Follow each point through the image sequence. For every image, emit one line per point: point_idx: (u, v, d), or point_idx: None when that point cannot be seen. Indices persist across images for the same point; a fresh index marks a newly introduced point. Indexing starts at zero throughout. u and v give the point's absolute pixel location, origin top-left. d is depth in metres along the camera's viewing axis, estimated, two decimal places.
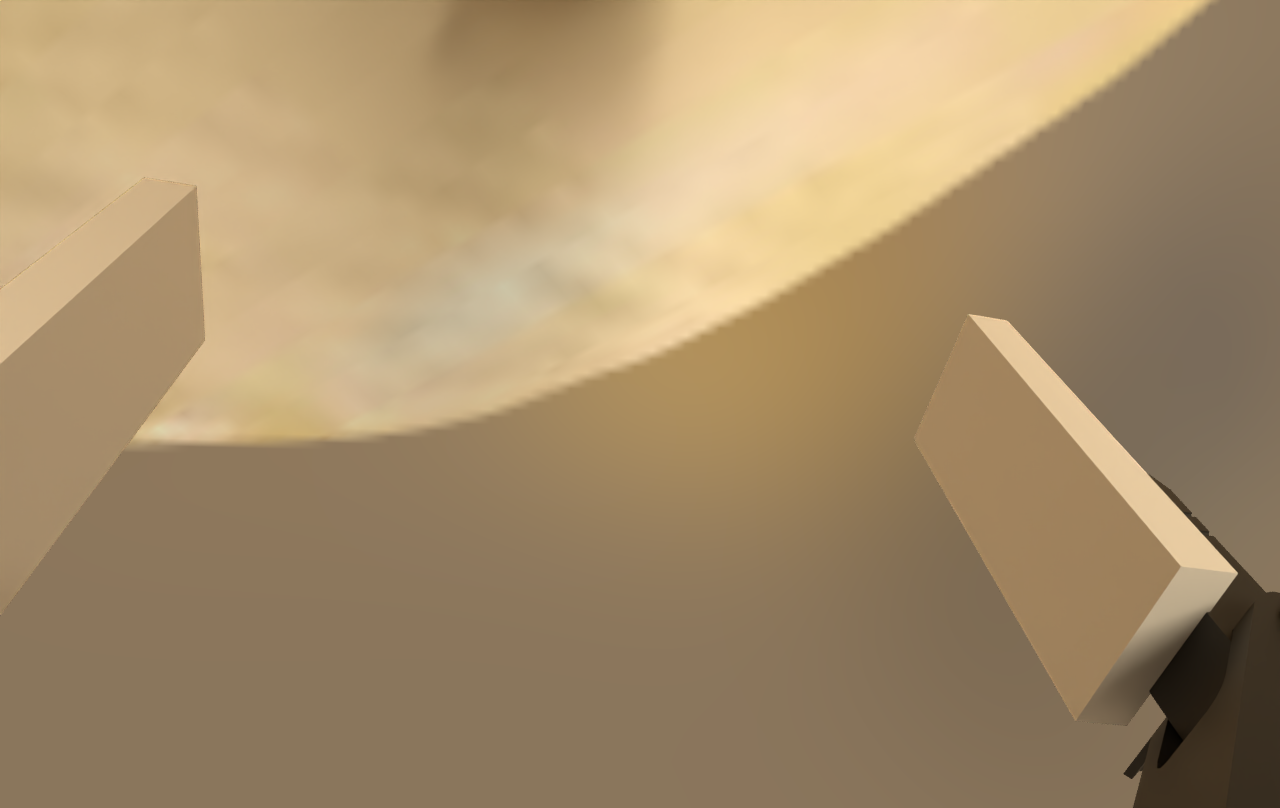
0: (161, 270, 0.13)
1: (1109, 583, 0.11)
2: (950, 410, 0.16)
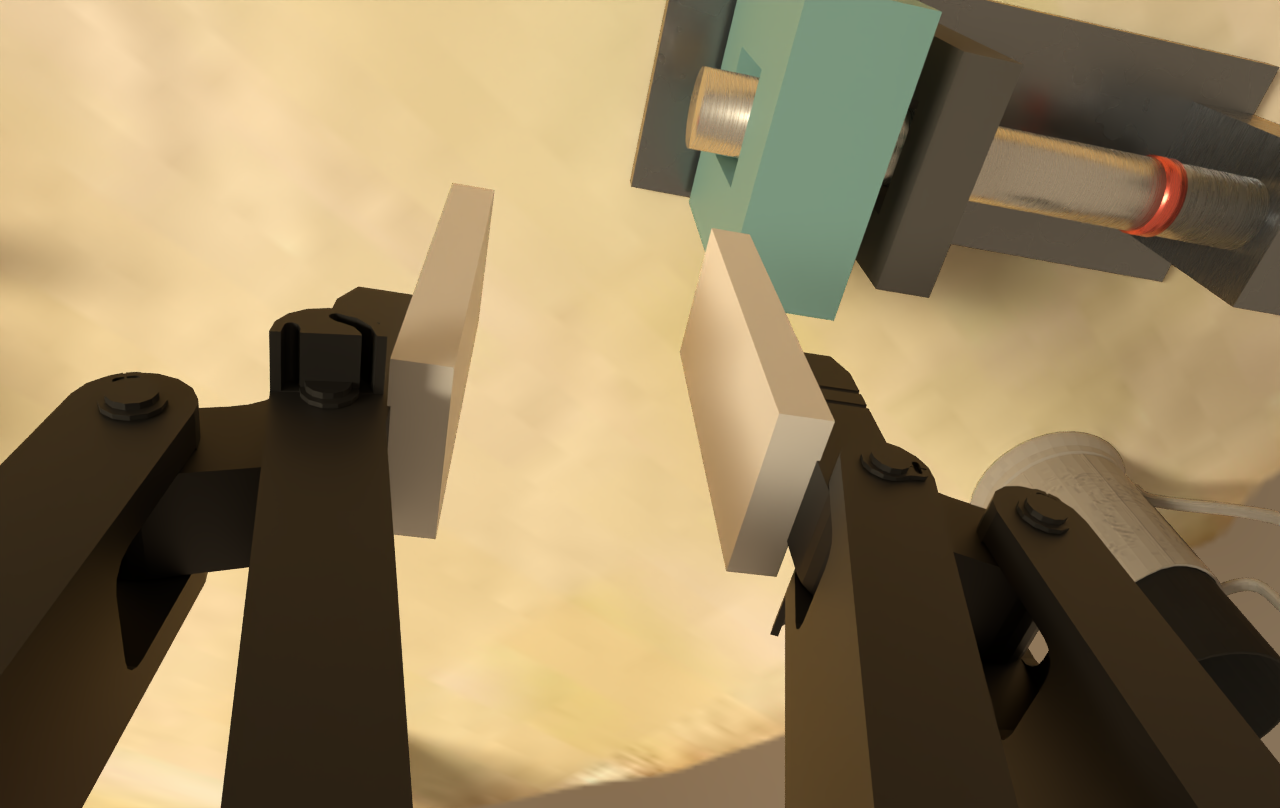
0: (482, 260, 0.15)
1: (749, 442, 0.12)
2: (697, 318, 0.17)
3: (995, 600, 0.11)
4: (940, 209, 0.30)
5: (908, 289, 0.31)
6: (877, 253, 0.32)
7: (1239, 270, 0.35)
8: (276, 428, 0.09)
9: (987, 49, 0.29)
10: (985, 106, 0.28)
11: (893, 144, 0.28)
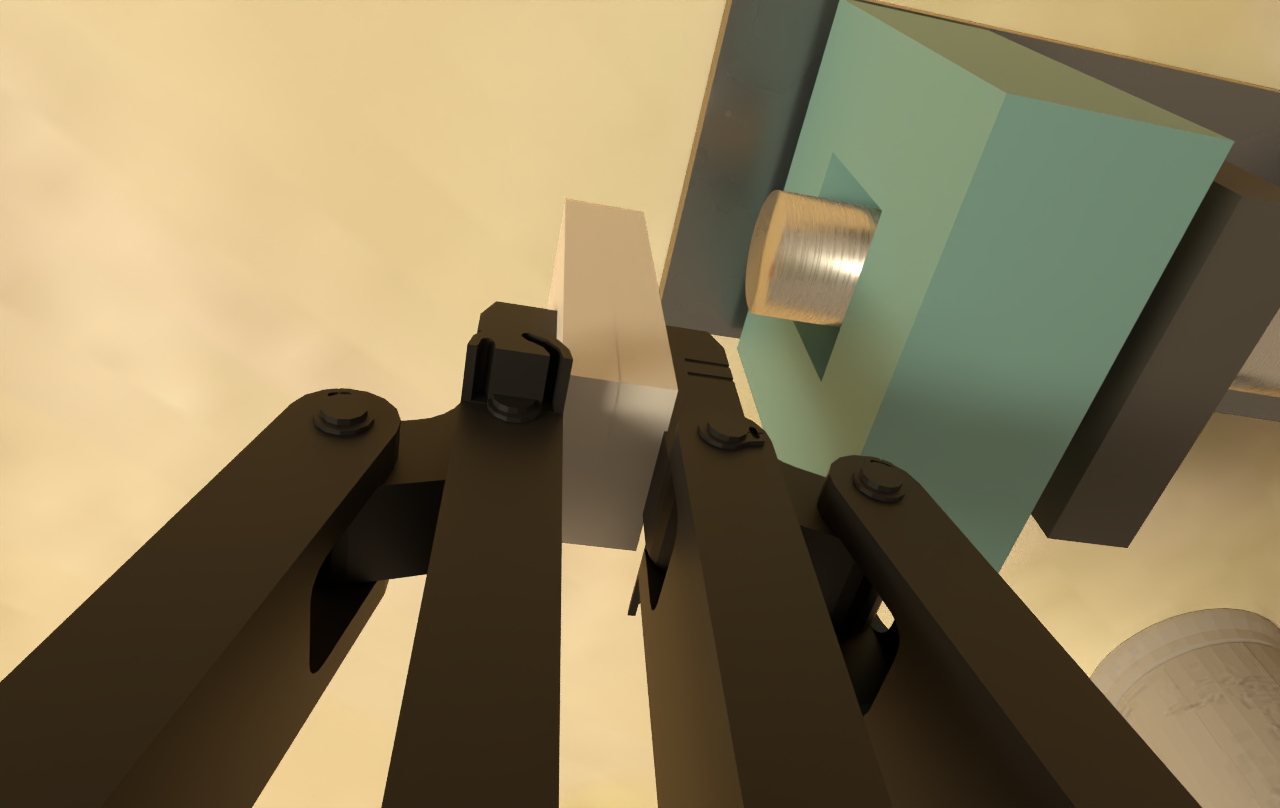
0: None
1: None
2: None
3: (841, 574, 0.11)
4: (1164, 429, 0.19)
5: (1097, 537, 0.20)
6: None
7: None
8: (463, 435, 0.10)
9: (1249, 175, 0.18)
10: (1262, 279, 0.17)
11: (1116, 350, 0.16)
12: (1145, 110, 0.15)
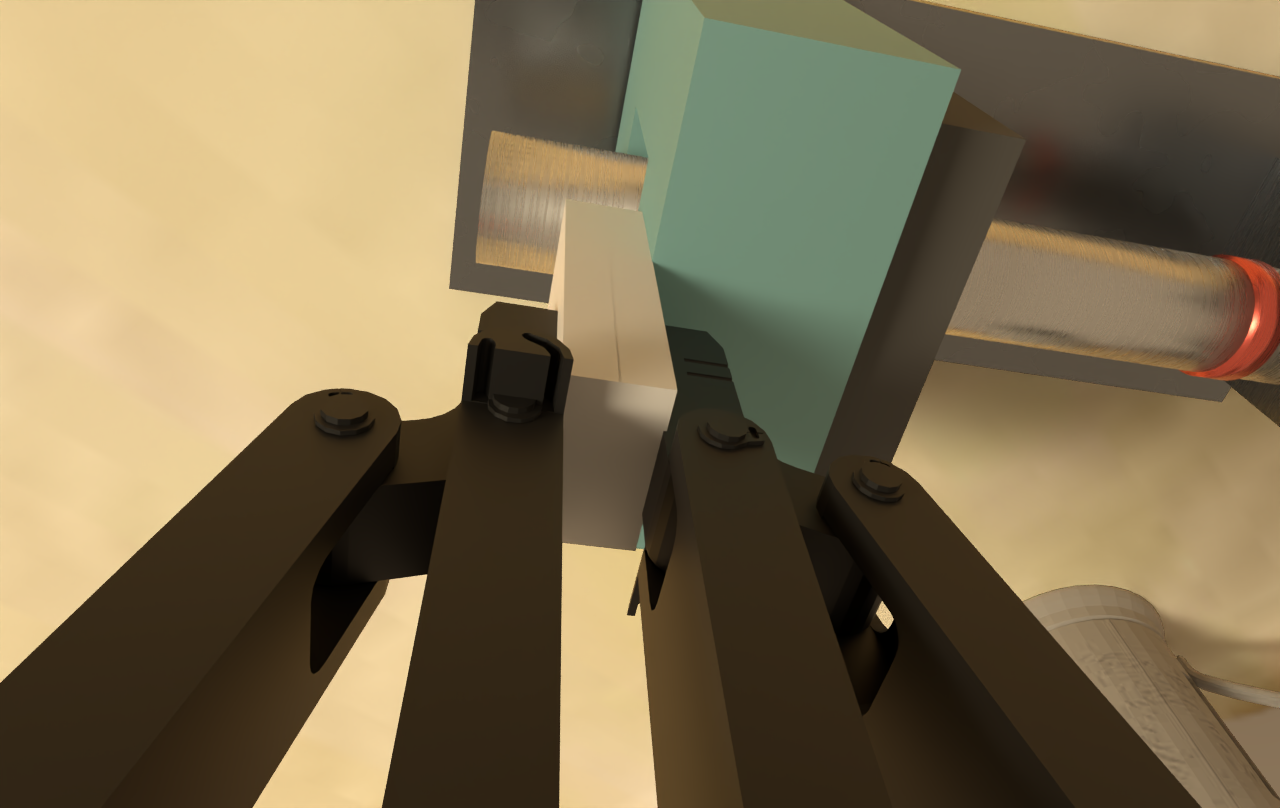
0: None
1: None
2: None
3: (840, 574, 0.11)
4: (885, 377, 0.17)
5: None
6: None
7: None
8: (464, 436, 0.10)
9: (963, 105, 0.17)
10: (958, 211, 0.16)
11: (873, 299, 0.15)
12: (886, 42, 0.14)
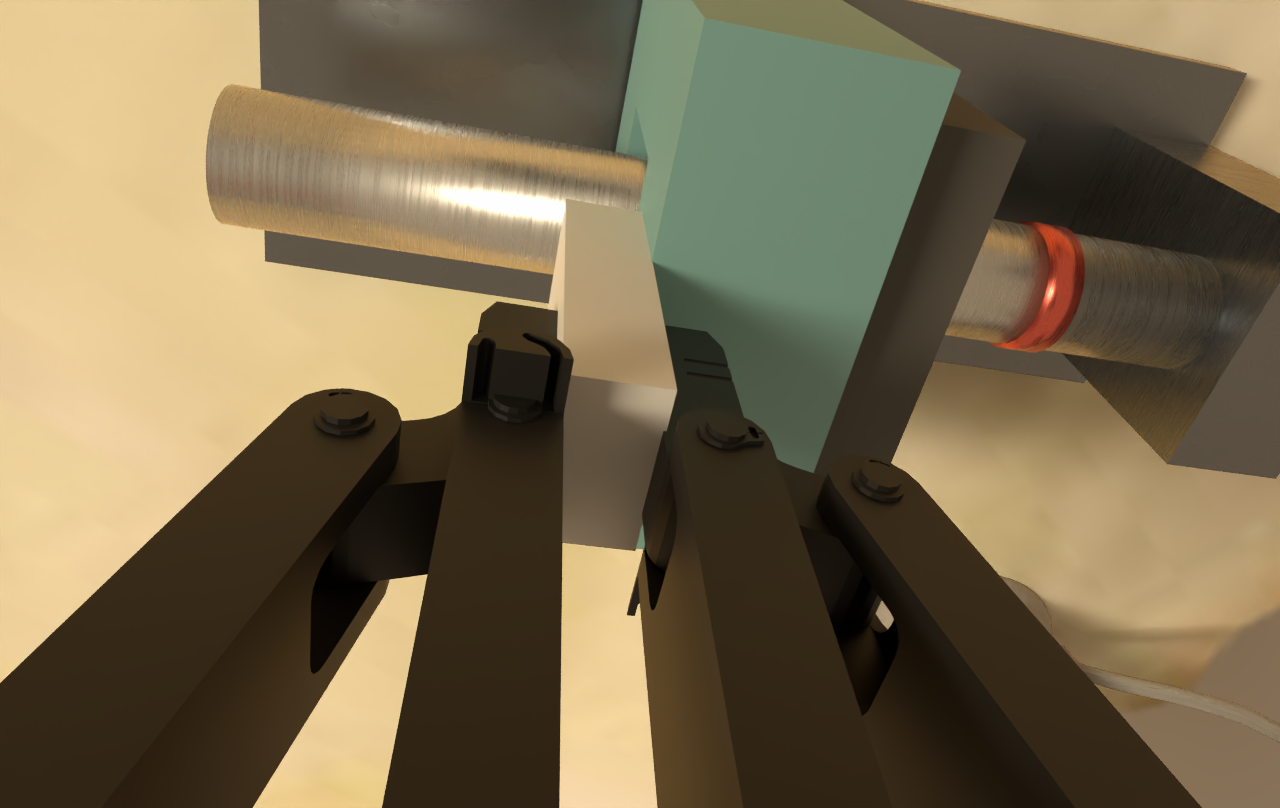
0: None
1: None
2: None
3: (840, 574, 0.11)
4: (885, 377, 0.17)
5: None
6: None
7: (1177, 405, 0.21)
8: (464, 435, 0.10)
9: (963, 106, 0.17)
10: (958, 212, 0.16)
11: (873, 299, 0.15)
12: (886, 43, 0.14)
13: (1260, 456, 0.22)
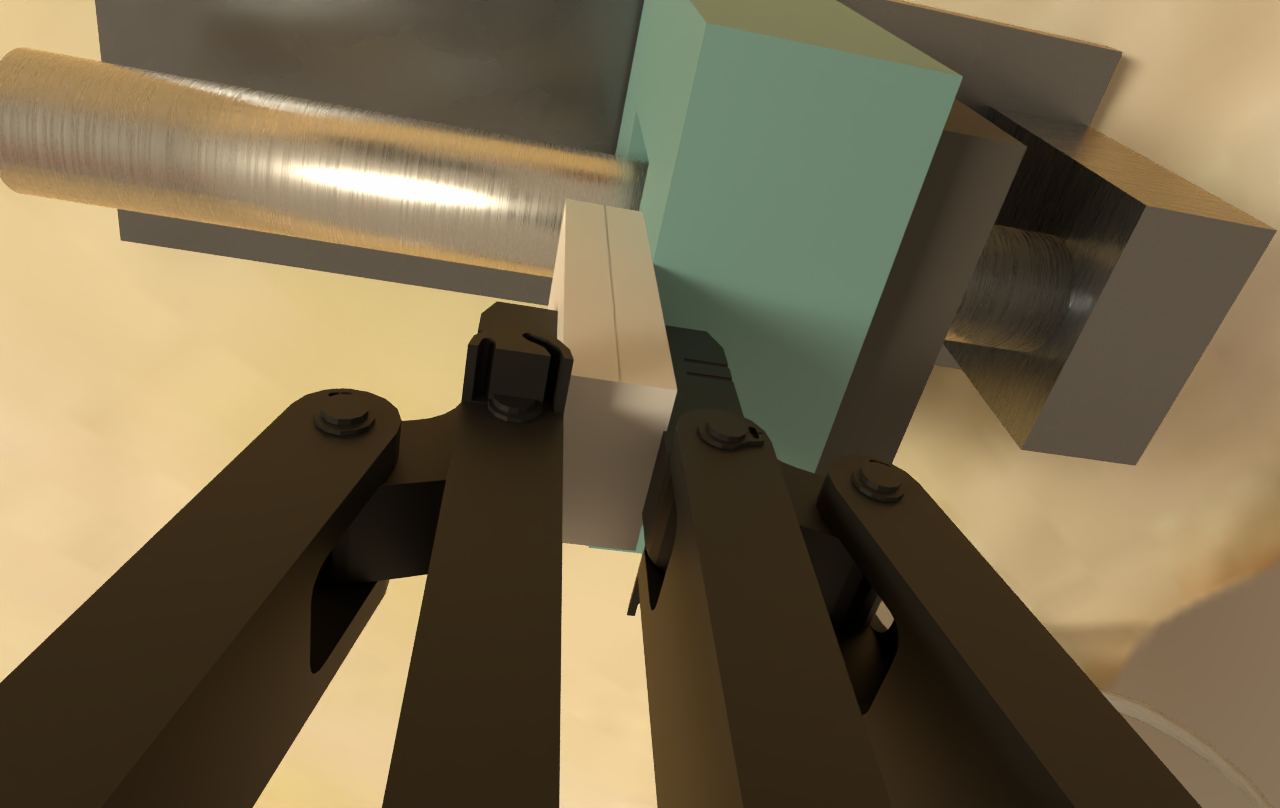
0: None
1: None
2: None
3: (840, 574, 0.11)
4: (884, 382, 0.17)
5: None
6: None
7: (1031, 388, 0.21)
8: (464, 435, 0.10)
9: (964, 111, 0.17)
10: (958, 218, 0.16)
11: (873, 305, 0.15)
12: (888, 48, 0.14)
13: (1117, 442, 0.21)
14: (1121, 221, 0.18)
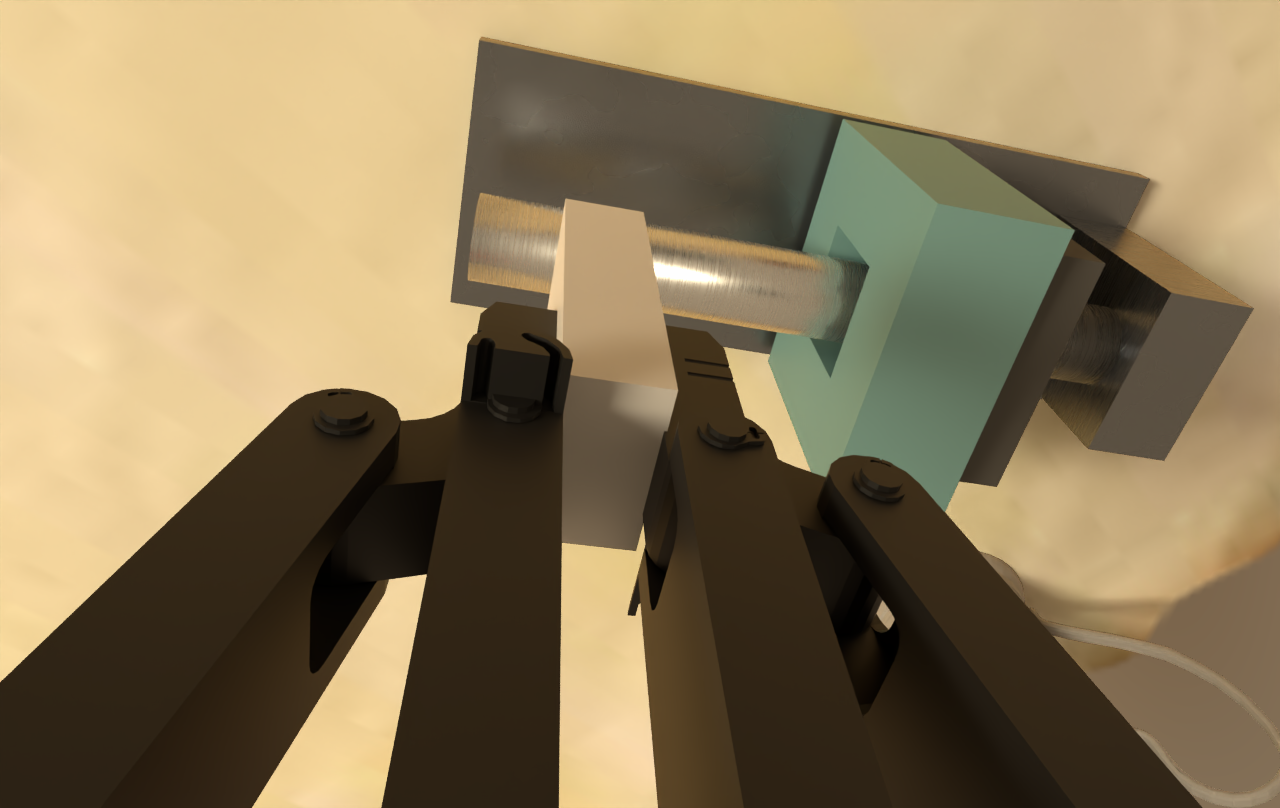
0: None
1: None
2: None
3: (841, 574, 0.11)
4: (1012, 402, 0.28)
5: (975, 479, 0.29)
6: None
7: (1094, 408, 0.31)
8: (463, 435, 0.10)
9: None
10: (1063, 303, 0.26)
11: (1014, 355, 0.26)
12: (1027, 209, 0.25)
13: (1151, 444, 0.31)
14: (1155, 301, 0.29)
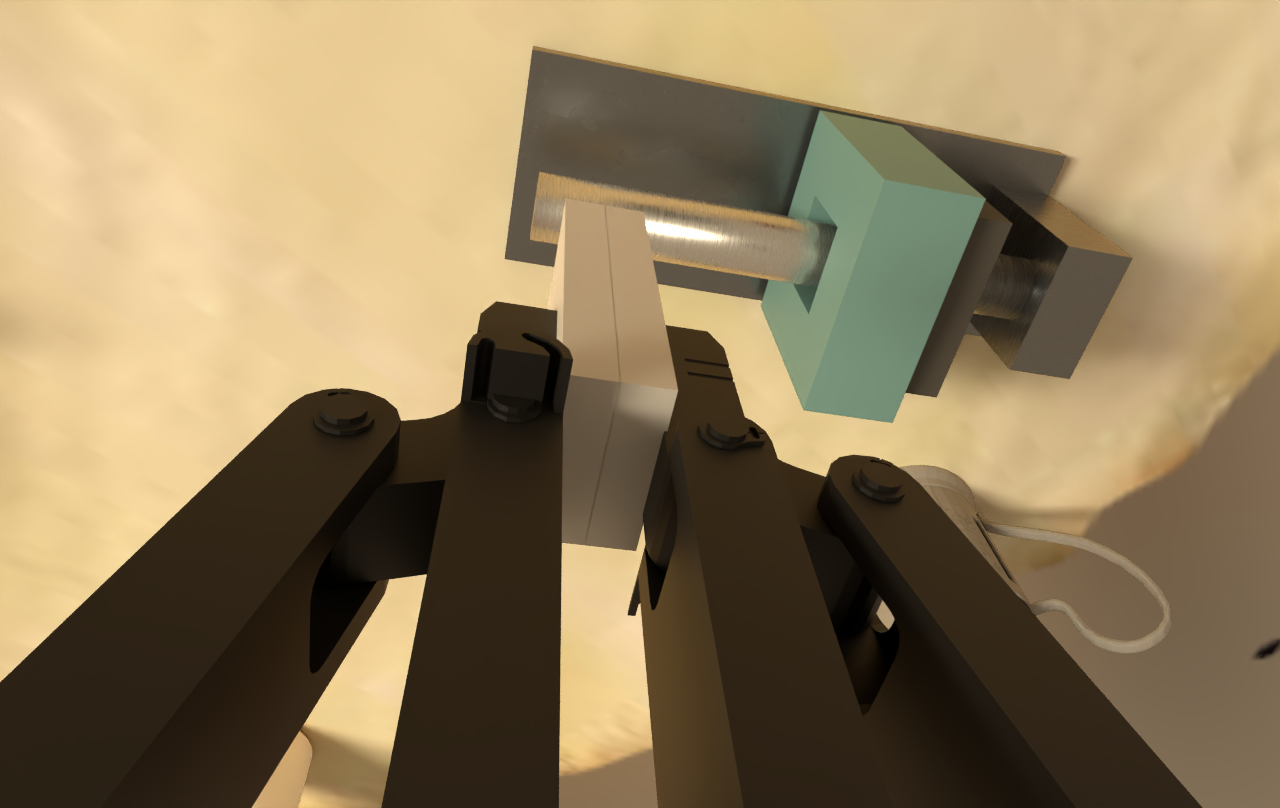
0: None
1: None
2: None
3: (841, 574, 0.11)
4: (946, 330, 0.37)
5: (919, 391, 0.38)
6: None
7: (1014, 338, 0.40)
8: (463, 435, 0.10)
9: (984, 203, 0.36)
10: (982, 254, 0.35)
11: (944, 293, 0.35)
12: (953, 183, 0.34)
13: (1059, 366, 0.40)
14: (1058, 253, 0.38)
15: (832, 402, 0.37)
